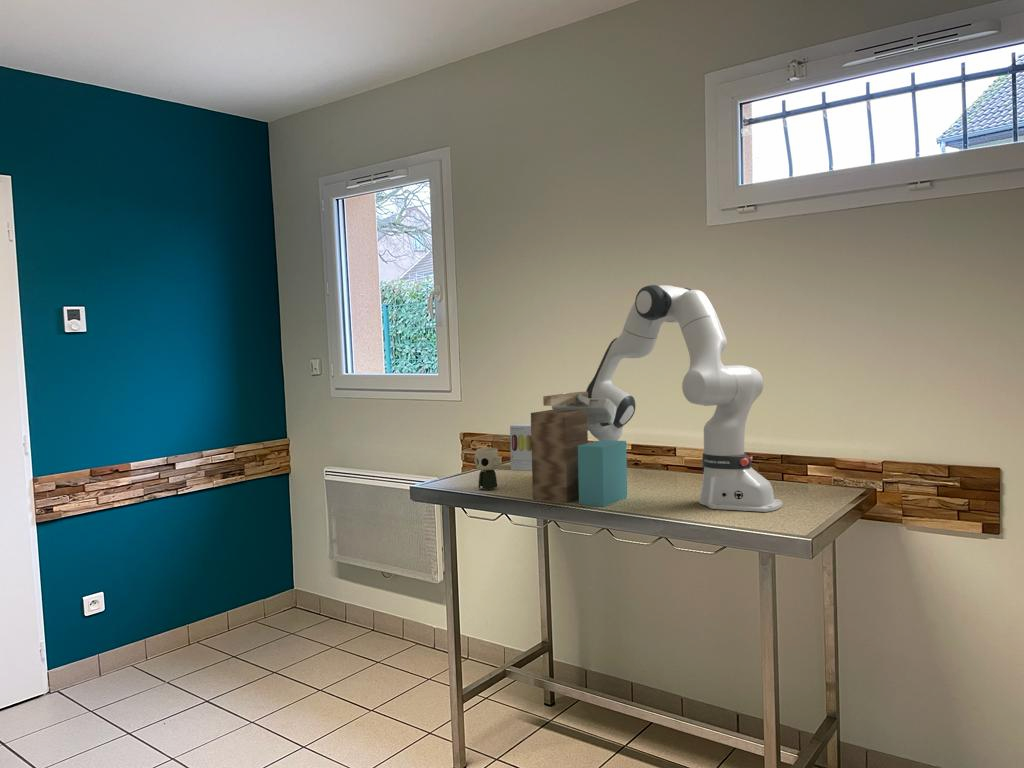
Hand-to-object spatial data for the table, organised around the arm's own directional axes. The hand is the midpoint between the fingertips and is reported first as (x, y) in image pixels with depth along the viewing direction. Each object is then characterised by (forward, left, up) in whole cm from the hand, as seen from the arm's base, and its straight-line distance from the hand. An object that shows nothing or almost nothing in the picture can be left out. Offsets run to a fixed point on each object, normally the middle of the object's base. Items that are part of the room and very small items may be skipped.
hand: (571, 396), depth 240 cm
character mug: (+28, +7, -30) cm, 42 cm away
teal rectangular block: (-14, +7, -30) cm, 34 cm away
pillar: (0, +8, -30) cm, 31 cm away
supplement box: (+41, -34, -30) cm, 61 cm away
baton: (0, +3, -2) cm, 4 cm away
